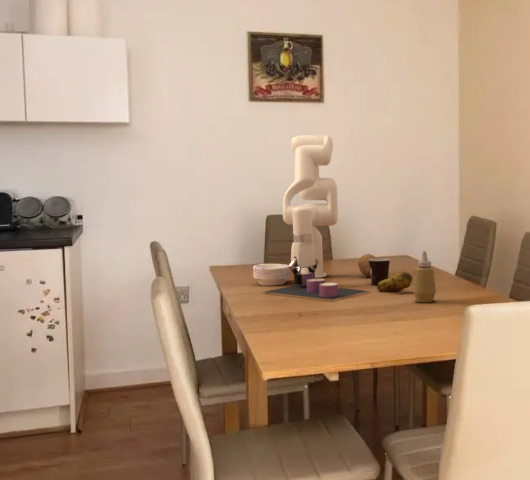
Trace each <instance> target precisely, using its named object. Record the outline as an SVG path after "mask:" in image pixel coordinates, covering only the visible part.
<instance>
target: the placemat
mask: <svg viewBox="0 0 530 480" xmlns="http://www.w3.org/2000/svg"><path fill="white" fill-rule="evenodd" d="M338 292H339V296H337V297H332V298H323V297H319V293H309V292H307V285H296V284H294V285H290V286H286V287H281V288H276V289H271V290H266V291H264V293H272V294H278V295H279V294H280V295H288V296H297V297H303V298H305V297H306V298H314V299H322V300H330V301H333V300H338V299H342V298H345V297H349V296H350V297H351V296H354V295H358V294H363V293H366V292H368V290H363V289H355V288H346V287H345V288H344V287H338Z"/></svg>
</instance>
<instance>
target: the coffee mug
mask: <svg viewBox="0 0 530 480" xmlns="http://www.w3.org/2000/svg"><path fill="white" fill-rule="evenodd" d="M390 262H391V259H390V258H386V257H385V258H381V257H380V258H377V257H376V259H369V266H370V274H371V276H370V280H371V285H373V286H378V283H379V282H381V281H383V280H385V279H388V278H389V273H390V264H391V263H390Z"/></svg>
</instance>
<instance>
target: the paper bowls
mask: <svg viewBox="0 0 530 480" xmlns="http://www.w3.org/2000/svg"><path fill="white" fill-rule="evenodd" d="M289 265H290V264H285V263H261V264H255V265H253V266H252V277H253V279H255V280H257V282H258V283H259V285H260V286H279V285H285V283H286V282H287V279H290V278H291V269H290V267H289Z"/></svg>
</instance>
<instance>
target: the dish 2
mask: <svg viewBox="0 0 530 480" xmlns="http://www.w3.org/2000/svg"><path fill="white" fill-rule="evenodd" d="M338 288H339V283H336V282H325V283H321V284H319V297H323V298H332V297H337V296H339V292H338Z"/></svg>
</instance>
